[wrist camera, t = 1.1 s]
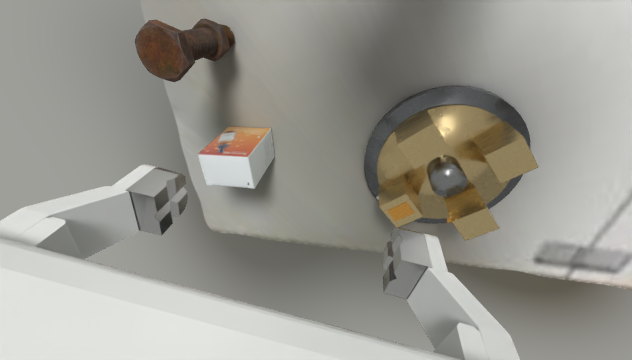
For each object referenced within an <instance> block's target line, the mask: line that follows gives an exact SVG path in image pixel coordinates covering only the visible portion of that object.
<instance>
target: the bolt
mask: <svg viewBox="0 0 632 360" xmlns="http://www.w3.org/2000/svg"><path fill="white" fill-rule="evenodd" d="M233 42H234V35H233V32H232V31H230V28H229V27H227V26H224V25H220V24H217V23H215V22H213V21H210V20H208V19H201V20H200V21H199V22H197V24H196V25H195V26H194V27H193V28H192V29H190V30H184V31H181V30H179V29H176V28H174V27H172V26H169V25H167V24H165V23H163V22H160V21H158V20H149V21H148V22H147V23H146V24H145V25H144V26H143V27H142V28H141V30H140V31H139V33H138V34H137V36H136V39H135V44H136V49H137V53H138V55H139V58H140V59H141V61H142V63H143V65H144V66H145V67H146V69H147V70H148V71H149V72H150V73H152V74H153V75H155V76H157V77H159V78H162V79H165V80H168V81H172V82H176V81H178V80H180V79H181V78H182V77H183V76H184V75H185V74H186V73H187V71H188V70H189V69H190V68H191V67H192V66H193V64H194V63H195V60H198V59H200V58H203V57H204V58H206V59H209V60H212V61H217V60H219V59H220V58H221V57H222V56H223V55H224V54H225V53H226V52H227V50H228V49H229V48H230V47H231V46H232V45H233Z"/></svg>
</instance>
